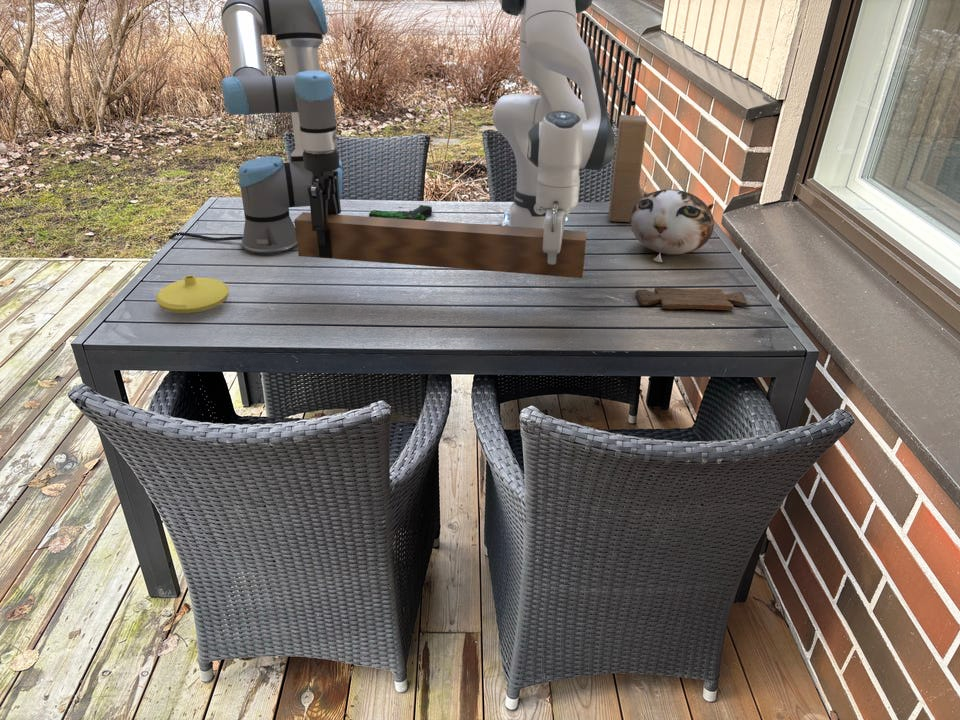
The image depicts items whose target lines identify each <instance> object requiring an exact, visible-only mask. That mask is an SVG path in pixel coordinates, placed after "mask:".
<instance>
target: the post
mask: <svg viewBox="0 0 960 720" xmlns="http://www.w3.org/2000/svg"><path fill="white" fill-rule="evenodd" d="M293 222H294V223H293V224H294V227H295V231H296V239H297V246H298V247H297V253H298V257H305V258H314V259H315V258H317V259H322V258H321V257H319V247H318V238H317V231H313V230H312V220H311V212H307V211H306V212H305V211H303V212H302V213H301V214H300V215H298V216H297V217H296V218H295V219H294V220H293ZM328 229H329V230H330V239H331V250H332V258H327V259H329V260H342V261H343V260H344V261H355V262H367V263H379V264H380V263H382V264H393V265H394V264H396V265H405V266H406V265H408V266H421V267H432V268H434V267H435V268H443V269H444V268H446V269H456V270H457V269H460V270H461V269H462V270H471V271H472V270H473V271H484V272H485V271H486V272H495V273H496V272H498V273H510V274H525V275H536V276H537V275H538V276H549V277H550V276H551V277H563V278H573V279H574V278H575V279H583V277H584V267H585V257H586V256H585V255H586V247H587V246H586V245H587V236H588V235H587V233H588V231H583V230H572V229H571V230H570V229H564V232H563V238H562V244H561V250H560V252H559V253H557V258H556V264H554V265H553V264H548V253H545V252H543V234H544V229H542V228H527V227H512V226H502V225H497V224H496V225H495V224H481V223H466V222H454V221H453V222H451V221H439V220H410V219H395V218H381V217H369V216H364V215H351V214H350V215H349V214H339V215H337V214H328Z"/></svg>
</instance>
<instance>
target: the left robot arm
mask: <svg viewBox="0 0 960 720" xmlns="http://www.w3.org/2000/svg"><path fill="white" fill-rule="evenodd" d="M220 18H221V20H220V21H221V27H222V30H223V32H224V34H225V35H226V36H227V45H228V57H229V65H230V66H229V68H230V76H227V77H224V78H222V79H221V84H220V85H221V90H222V98H223V103H224V108H225V111H226V112H227V114H228V115H240V116H241V115H243V116H249V115H265V114H288V113H289V114H291V115H290V116H291V122H292V123H291V124H292V131H293V139H294V150H293V151H292V152H291V154H290V162H289V161H288V162H284V160H283V158H282V157H281V156H276V155H275V156H272V155H267V156H261V157H257V158H256V157H255V158H253V159H250V160H247V161H245V162H243V163H242V164H241V165H240V166H239V168H238V170H237V174H238V186H239V188H240V194H241V195H240V196H241V201H242V207H243V212H244V213H243V215H244V219H245V220H244V226H243V228H244V229H243V235H240V236H226V237H225V236H224V237H213V236H206V235H202V234H196V233H190V232H183V231H177V232H174V233H172V234H171V235H170V236H168V238H167V239H168V240H172V239H174V238H175V237H180V236H182V237H189V238H196V239H201V240H205V241H211V242H224V241H238V240H239V241H240V240H241V246H242V249H243V251H244V252H246V253H248V254H252V255H255V256H256V255H257V256H275V255H281V254H282V255H283V254H285V253H289V252H291V251H293V250H296V249H298V246H297V239H296V231H295V223H293V222H294V221H293V220H292V218H291V216H290V208H301V207H302V208H303V207H309V209H310V213H311V220H312V230H313V231H317V238H318V247H319V257H321V258H320V259H328V258H332V250H331V239H330V230H329V229H328V214H337V215H341V213H342V206H341V198H342V194H343V193H342V192H343V162H342V160H341V159H340V155H339V154H340V153H339V152H340V151H339V150H338V147H339V146H338V145H339V144H338V140H339V139H340V134H338V133H337V124H336V107H335V95H334V94H335V88H334V84H333V77H332V75H331V74H330V73H329V72H327V71H323V70H321V67H320V57H319V48H320V46H321V45H322V44H323V42H324V39H323V36H325V35H327V34H328V32H329V31H328V30H329V29H328V22H327V16H326V10H325V6H324V3H323V0H226V1H225V3H224V4H223V7H222V10H221V17H220ZM262 36H275V44H276V45H277V46H279V48H280V49H282V52H283V58H284V59H283V60H284V66H285V75H267V70H266V62H265V55H264V49H263V41H262ZM178 232H179V233H178ZM179 234H180V235H179ZM176 235H177V236H176Z"/></svg>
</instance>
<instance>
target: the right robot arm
mask: <svg viewBox="0 0 960 720" xmlns="http://www.w3.org/2000/svg"><path fill="white" fill-rule="evenodd" d="M498 2H499V4H500V6H501V10H502V11H503V12H504V13H505V14H507V15H510V16H514V17H518V16H520V17H521V18H520V27H519V70H520V72H521V75H522V76H523V77H524V79H525V80H526V81H528V82H529V83H531V84H533V85H534V86H535V87H536V89H537V90H538V92H539V94H540V95H538V94H528V93H513V94H512V93H511V94H504V95H501V96H500V97H499V98H498V99H497V101H496V102H495V104H494V107H493V110H492V122H493V125H494V127H495V129H496V130H497V132H499V133H500V134H501V135H502V136H503V137H504V139H505V140H506V141H507V143H508V145H509V146H510V148H511V150H512V153H513V156H514V159H515V164H516V165H515V166H516V188H515V189H514V193H513V203H512V204H511V205H510V206H509V211H507V210H506V211H503V220H502V221H501V226H512V227H527V228H542V229H544V234H543V252H545V253H548V264H553V265H554V264H556V258H557V253H559V252H560V250H561V244H562V238H563V232H564V230H565V227H566V221H568V217H567V216H568V215H569V214H571V213H572V209H573V208H575V207H577V206H578V205H579V197H580V188H581V187H580V185H581V177H580V169H583V170H589V171H600V170H602V169H603V168H605V167H606V166H607V165H609V163H610V162H611V161H613V159H614V158H615V154H616V137H615V133H614V129H613V126H612V124H611V120H610V117H609V112H608V108H607V103H606V99H605V94H604V93H605V92H604V90H603V89H604V88H603V83H602V79H601V74H600V70H599V66H598V65H599V64H598V63H597V62H598V61H597V59H596V55H595V52H594V50H593V48H591V47H590V46H589V45H587V44H586V43H585V42H584V41H583V39H582V37H581V35H580V32H579V29H578V23H577V22H578V19H577V14H579V13H583V12H585V11H587V10H588V9H589V8H590V7H591V6H592V3H593V0H498ZM568 79H569V80H571V81H572V82H574V83H575V84H576V85H577V87H578V88H579V90H580V93H581V99H582V100H581V99H580V98H579V97H578V96H577V94H575V92H574V91H573V89H572V87H571V86H570V83H569V81H568Z"/></svg>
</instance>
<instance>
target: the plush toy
mask: <svg viewBox="0 0 960 720" xmlns="http://www.w3.org/2000/svg"><path fill="white" fill-rule="evenodd" d="M649 193H650V194H648V195H647V194H644V197H643V198H641V199H640V200H639V201H638V202H637V203H636V205H635V206H634V208H633V210H632V212H631V216H630V222H629V223H630V228H631V231H632V233H633V235H634V236H635V238H636V239H637V240H638V242H639V243H641V245H643V246H644V247H646V248H648V249H649V250H651V251H654V252H656V253H658V254H657V256H656V257H654V258H653V259H652V261H654V262H658V263H663V260H662V256H661V254H663V255H668V256H669V255H670V256H671V255H672V256H680V255H685V254H690V253H693V252H695V251H697V250H698V249H700V248H702V247H703V246H704V245H706V244H707V243H708V241H709V240H710V238H711V237H712V234H713V232H714V229H715V220H714V216H713V213H712V211H711V210H712V209H713V207H714V206H715V205H714V203H711V204H709V205H707V204H706V203H705V202H704V201H703V200H702V199H701V198H699V197H698V196H696V195H694V194H692V193H691V192H687V191H684V190H680V189H674V188H673V189H671V188H669V189H668V188H667V189H659V190H656V191H652V192H649Z"/></svg>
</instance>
